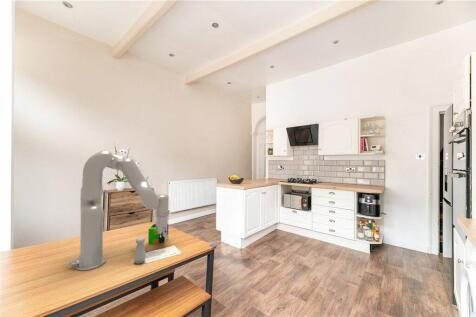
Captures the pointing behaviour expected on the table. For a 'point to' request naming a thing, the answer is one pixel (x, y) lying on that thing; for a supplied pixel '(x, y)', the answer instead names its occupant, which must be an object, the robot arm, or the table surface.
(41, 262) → the table surface
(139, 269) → the table surface
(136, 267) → the table surface
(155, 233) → the puzzle toy
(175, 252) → the letter
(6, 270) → the table surface
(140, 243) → the salt shaker
